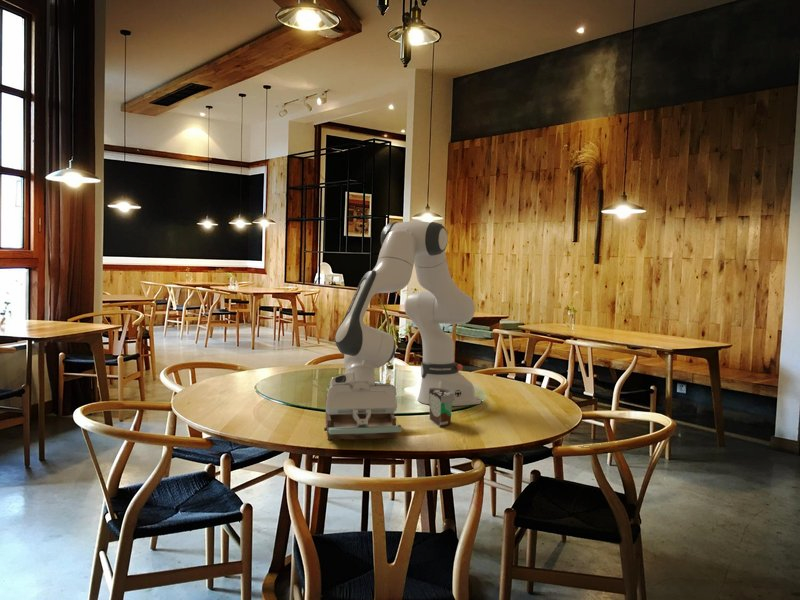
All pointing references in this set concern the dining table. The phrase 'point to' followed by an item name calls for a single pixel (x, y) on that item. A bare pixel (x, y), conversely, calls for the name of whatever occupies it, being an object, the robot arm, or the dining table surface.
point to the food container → (441, 406)
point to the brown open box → (349, 421)
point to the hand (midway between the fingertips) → (362, 426)
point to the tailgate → (364, 430)
